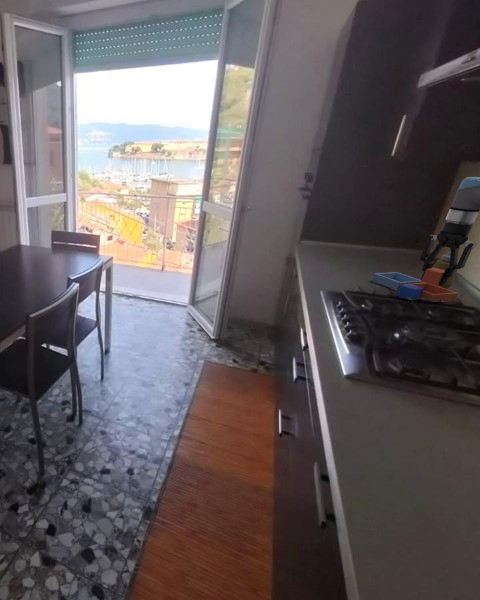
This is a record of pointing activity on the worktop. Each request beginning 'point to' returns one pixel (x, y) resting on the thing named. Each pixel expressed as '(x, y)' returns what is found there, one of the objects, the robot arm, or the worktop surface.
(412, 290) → the blue cube
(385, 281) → the blue bin
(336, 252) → the worktop surface
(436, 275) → the terracotta cube
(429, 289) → the terracotta bin
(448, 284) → the squeeze bottle
